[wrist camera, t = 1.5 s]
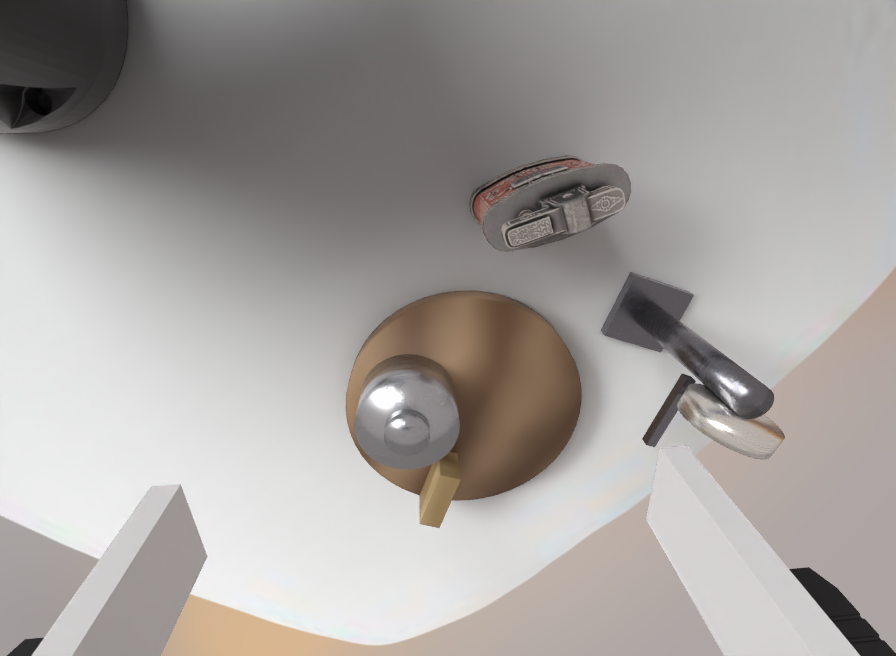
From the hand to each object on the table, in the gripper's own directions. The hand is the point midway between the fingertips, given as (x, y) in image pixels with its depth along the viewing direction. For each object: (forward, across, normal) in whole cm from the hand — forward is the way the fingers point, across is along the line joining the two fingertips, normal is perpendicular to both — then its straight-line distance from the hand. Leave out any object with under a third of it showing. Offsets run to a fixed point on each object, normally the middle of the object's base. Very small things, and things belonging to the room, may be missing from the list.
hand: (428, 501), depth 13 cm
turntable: (+22, +3, -11) cm, 25 cm away
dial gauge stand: (+22, +16, -6) cm, 28 cm away
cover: (+20, -2, -9) cm, 22 cm away
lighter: (+22, +8, +5) cm, 24 cm away
